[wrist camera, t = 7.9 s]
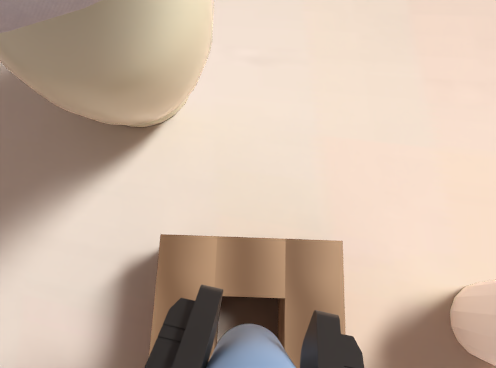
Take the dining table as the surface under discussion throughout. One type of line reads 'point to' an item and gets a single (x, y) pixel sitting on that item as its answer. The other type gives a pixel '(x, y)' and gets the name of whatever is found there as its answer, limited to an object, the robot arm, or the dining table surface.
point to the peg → (249, 349)
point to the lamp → (109, 54)
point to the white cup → (476, 319)
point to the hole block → (254, 278)
